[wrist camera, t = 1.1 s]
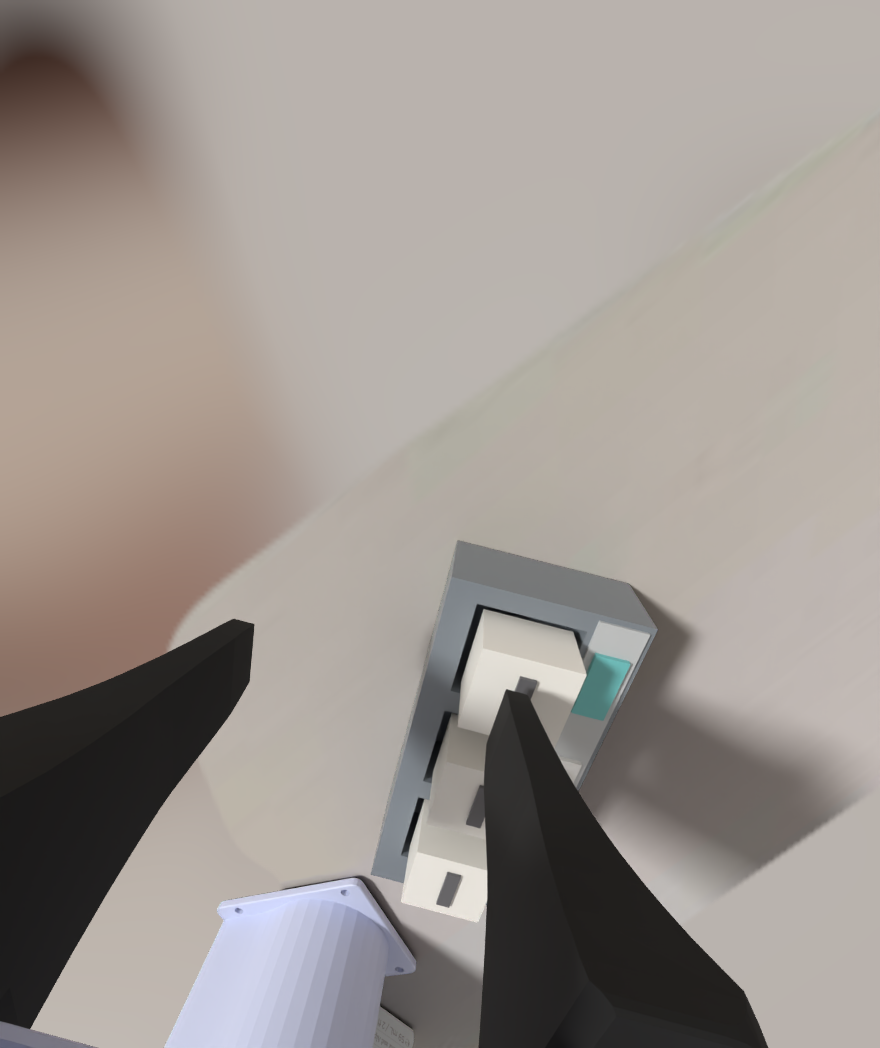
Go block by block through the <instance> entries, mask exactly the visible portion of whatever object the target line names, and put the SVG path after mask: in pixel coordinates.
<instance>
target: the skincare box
mask: <svg viewBox="0 0 880 1048" xmlns="http://www.w3.org/2000/svg"><path fill="white" fill-rule="evenodd" d="M413 1045H414V1031H413V1030H412V1029H411V1028H409V1027H408V1026H407V1025H405V1024H404V1023H402V1022H401V1021H400V1020H398V1019H397V1018H395V1017H394V1016H393V1015H392V1014H390V1013H389V1012H387V1011H386V1010H385V1009H383V1008H382V1007H380V1008H379V1014H378V1020H377V1026H376V1032H375V1038H374V1044H373V1048H413Z"/></svg>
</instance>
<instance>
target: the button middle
mask: <svg viewBox="0 0 880 1048" xmlns="http://www.w3.org/2000/svg"><path fill="white" fill-rule="evenodd" d="M458 716H459V714H455V713H451V716H450V719H449V722H448V725H447V729H446V732H445V735H444V738H443V741H442V745H441V748H440V751H439V754H438V757H437V761H436V764H435V767H434V770H433V777H432V785H431V792H430V800H429V808H428V815H427V823H426V824H428V825H432V826H435V827H439V828H443V829H447V830H451V831H454V832H458V833H462V834H466V835H470V836H474V837H477V838H481V839H485V840H486V830H485V805H484V769H485V756H486V743H487V740H488V738H489V735H486V734H482V733H478V732H475V731H471V730H467V729H463V728H459V727H458Z"/></svg>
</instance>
